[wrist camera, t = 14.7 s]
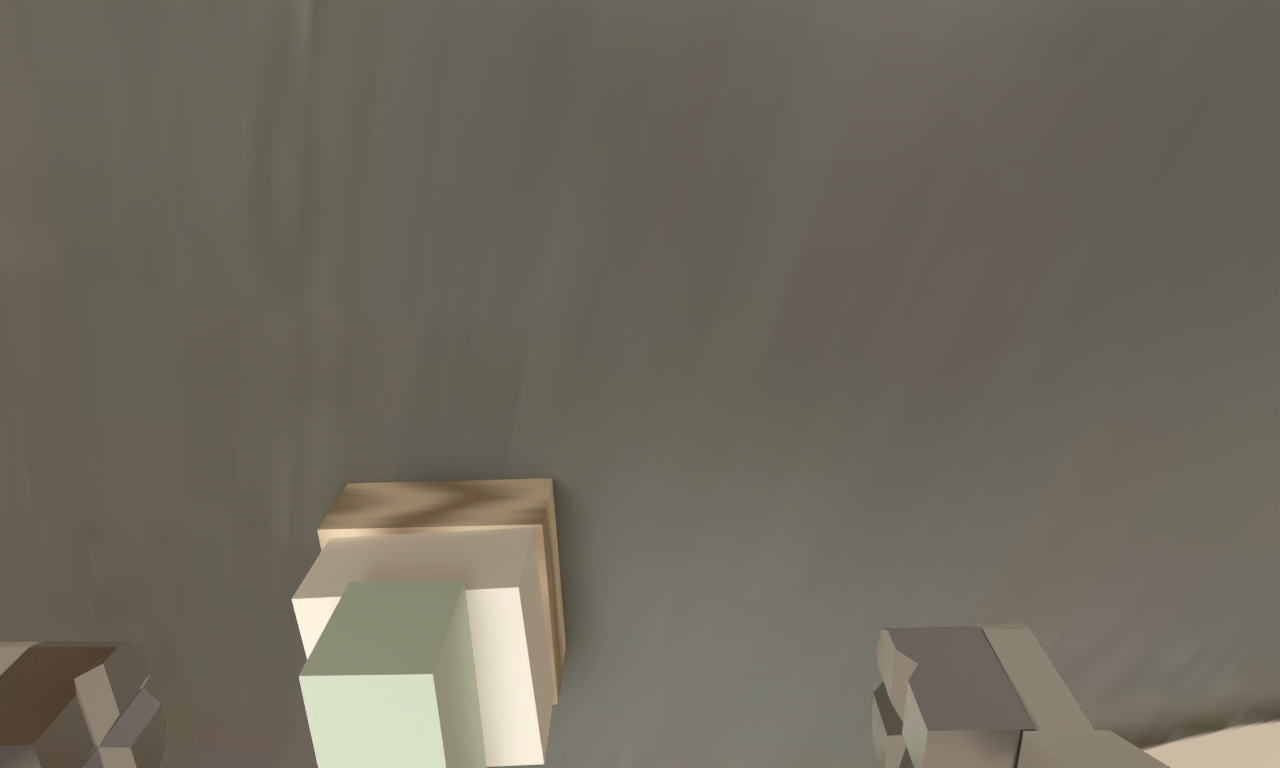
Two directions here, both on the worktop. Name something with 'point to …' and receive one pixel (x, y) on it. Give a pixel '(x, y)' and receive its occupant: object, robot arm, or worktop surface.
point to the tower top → (497, 616)
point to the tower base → (462, 526)
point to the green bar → (395, 679)
